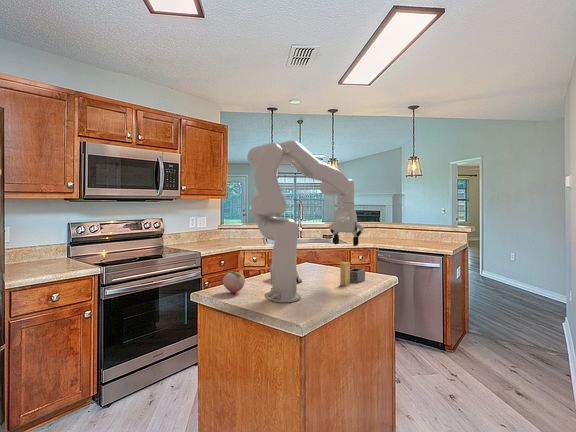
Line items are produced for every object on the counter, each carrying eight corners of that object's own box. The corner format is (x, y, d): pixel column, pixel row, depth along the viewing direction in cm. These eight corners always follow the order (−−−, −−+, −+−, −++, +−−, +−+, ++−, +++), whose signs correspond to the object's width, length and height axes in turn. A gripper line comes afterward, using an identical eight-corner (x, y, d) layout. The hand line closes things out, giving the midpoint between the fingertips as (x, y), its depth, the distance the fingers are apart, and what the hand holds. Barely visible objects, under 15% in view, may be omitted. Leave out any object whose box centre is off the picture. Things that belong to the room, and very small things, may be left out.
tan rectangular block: (345, 286, 150) (345, 263, 150) (340, 285, 152) (340, 263, 151) (349, 284, 154) (349, 262, 153) (345, 283, 155) (345, 261, 155)
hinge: (303, 282, 158) (298, 263, 155) (296, 287, 154) (291, 268, 152) (278, 276, 169) (273, 258, 166) (271, 281, 166) (266, 263, 163)
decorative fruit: (249, 292, 141) (249, 268, 141) (237, 297, 134) (236, 272, 134) (232, 289, 146) (231, 266, 145) (219, 293, 139) (218, 269, 138)
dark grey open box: (357, 283, 156) (357, 272, 155) (345, 281, 159) (345, 270, 159) (365, 279, 162) (365, 269, 162) (353, 278, 166) (353, 267, 165)
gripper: (324, 207, 154) (325, 244, 155) (359, 207, 143) (359, 247, 144) (333, 206, 159) (333, 242, 160) (367, 206, 149) (367, 245, 150)
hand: (345, 244), depth 152 cm, fingers open, 9 cm apart
